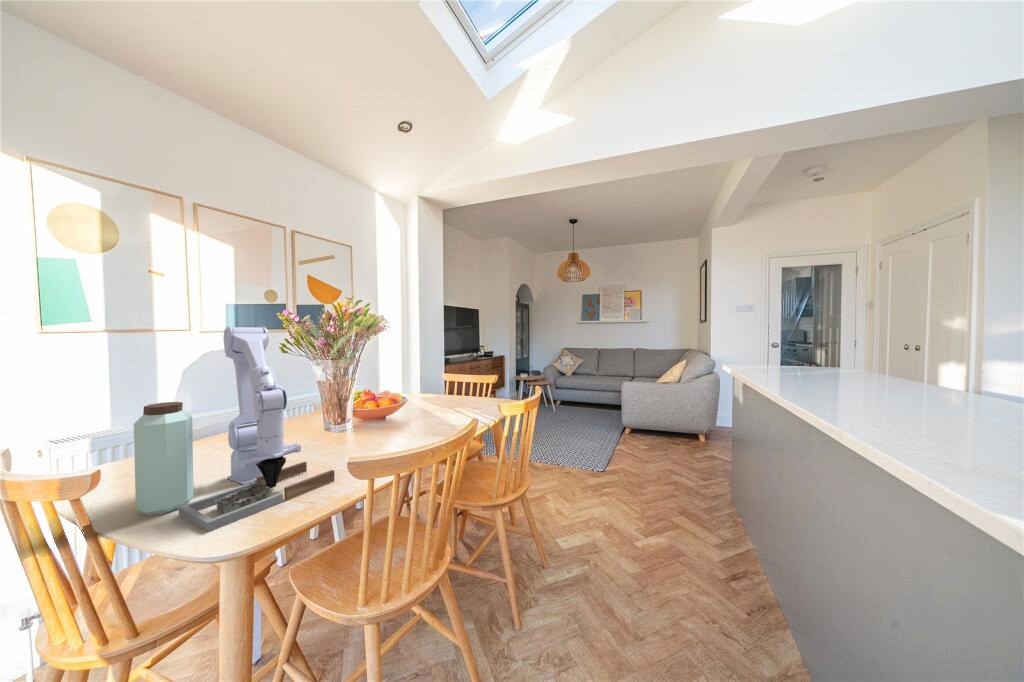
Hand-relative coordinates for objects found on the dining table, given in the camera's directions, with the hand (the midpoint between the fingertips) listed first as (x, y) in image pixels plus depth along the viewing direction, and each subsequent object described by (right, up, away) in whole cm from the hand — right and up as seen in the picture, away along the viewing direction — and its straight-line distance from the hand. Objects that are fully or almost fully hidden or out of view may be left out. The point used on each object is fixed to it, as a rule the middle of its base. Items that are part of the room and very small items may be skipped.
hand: (271, 486), depth 92 cm
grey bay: (-4, -2, -8) cm, 9 cm away
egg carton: (-2, -3, -6) cm, 7 cm away
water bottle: (-21, -2, -7) cm, 22 cm away
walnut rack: (+3, -2, +6) cm, 7 cm away
